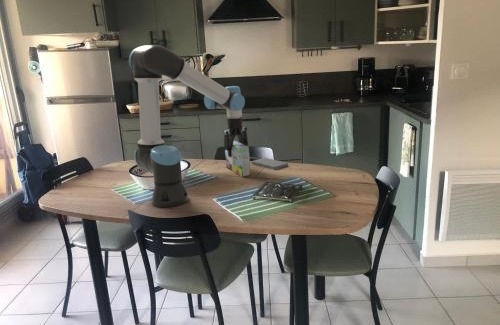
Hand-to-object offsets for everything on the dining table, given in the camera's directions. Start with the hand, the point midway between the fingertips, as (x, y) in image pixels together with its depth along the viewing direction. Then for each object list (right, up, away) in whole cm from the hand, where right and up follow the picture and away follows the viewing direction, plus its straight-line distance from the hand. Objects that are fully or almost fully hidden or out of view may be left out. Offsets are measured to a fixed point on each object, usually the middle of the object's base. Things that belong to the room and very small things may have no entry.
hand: (237, 161), depth 209 cm
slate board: (+17, -2, +10) cm, 20 cm away
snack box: (0, -6, +1) cm, 6 cm away
